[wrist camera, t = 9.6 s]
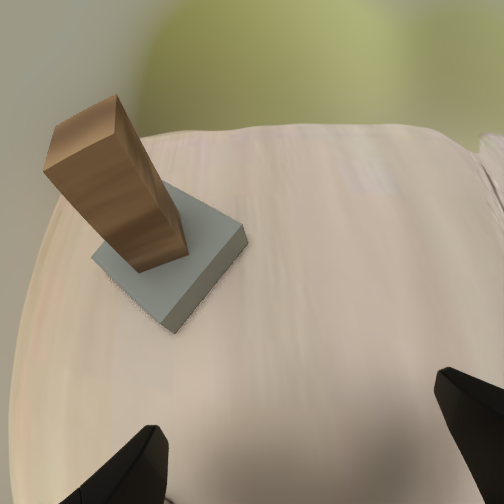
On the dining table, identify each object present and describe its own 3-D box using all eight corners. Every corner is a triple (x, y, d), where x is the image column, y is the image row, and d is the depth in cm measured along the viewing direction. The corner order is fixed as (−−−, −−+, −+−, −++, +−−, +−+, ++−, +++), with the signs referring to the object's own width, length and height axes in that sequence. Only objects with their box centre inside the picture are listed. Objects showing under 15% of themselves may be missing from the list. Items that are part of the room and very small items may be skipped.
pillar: (189, 254, 24) (114, 133, 13) (138, 273, 24) (42, 171, 13) (179, 211, 26) (116, 94, 15) (133, 230, 26) (55, 126, 15)
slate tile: (174, 333, 24) (160, 324, 21) (107, 271, 28) (90, 257, 25) (248, 242, 27) (242, 224, 24) (172, 198, 31) (161, 179, 28)
